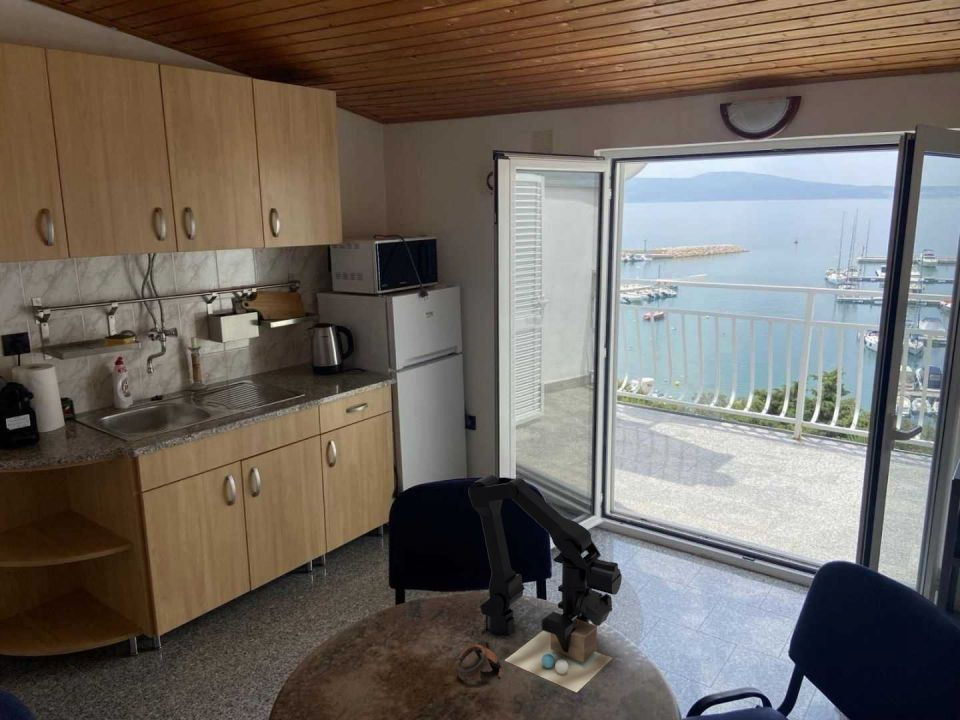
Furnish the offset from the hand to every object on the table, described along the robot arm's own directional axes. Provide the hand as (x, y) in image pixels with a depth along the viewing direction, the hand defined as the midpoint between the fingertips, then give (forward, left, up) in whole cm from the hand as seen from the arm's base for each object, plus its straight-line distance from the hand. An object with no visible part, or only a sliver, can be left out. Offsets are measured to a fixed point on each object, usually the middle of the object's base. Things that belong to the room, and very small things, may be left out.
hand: (573, 645), depth 163 cm
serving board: (-1, -4, -3) cm, 5 cm away
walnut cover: (0, 0, -1) cm, 1 cm away
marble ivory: (+2, -8, -2) cm, 8 cm away
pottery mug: (-13, -18, -3) cm, 23 cm away
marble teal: (-2, -8, -2) cm, 8 cm away
